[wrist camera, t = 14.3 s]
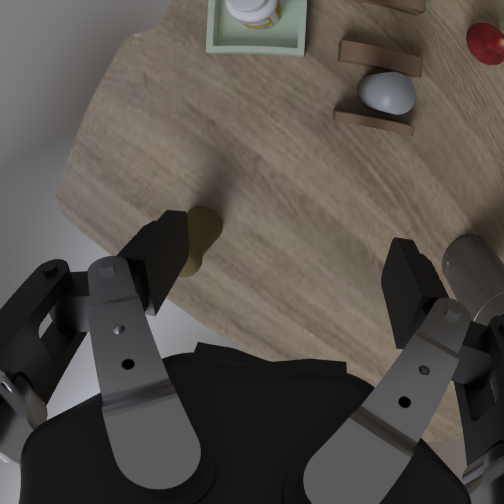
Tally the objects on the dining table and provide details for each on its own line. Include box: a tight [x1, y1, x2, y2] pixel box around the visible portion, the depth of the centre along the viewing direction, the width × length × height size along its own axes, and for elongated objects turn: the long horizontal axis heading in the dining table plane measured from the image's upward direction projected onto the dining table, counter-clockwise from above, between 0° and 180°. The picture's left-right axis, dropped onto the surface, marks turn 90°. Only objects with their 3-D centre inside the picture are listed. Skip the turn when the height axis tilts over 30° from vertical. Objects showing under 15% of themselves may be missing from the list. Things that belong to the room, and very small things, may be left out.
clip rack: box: [333, 0, 425, 136], centre depth 27 cm, size 10×27×3 cm, turn 178°
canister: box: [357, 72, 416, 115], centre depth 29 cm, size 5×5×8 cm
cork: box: [178, 207, 223, 277], centre depth 42 cm, size 6×6×11 cm
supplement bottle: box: [225, 0, 282, 30], centre depth 25 cm, size 5×5×10 cm
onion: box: [466, 23, 504, 65], centre depth 22 cm, size 6×6×8 cm
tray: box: [206, 0, 307, 57], centre depth 29 cm, size 12×12×2 cm
